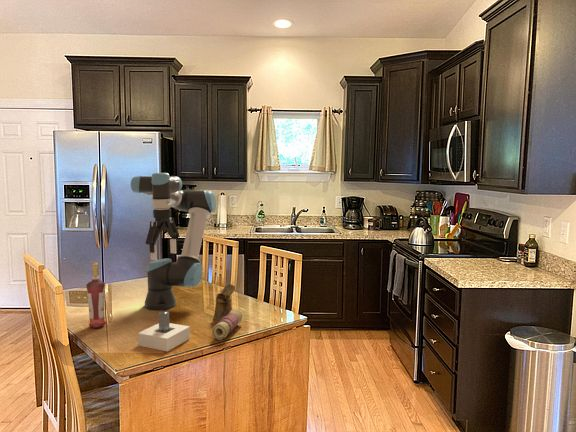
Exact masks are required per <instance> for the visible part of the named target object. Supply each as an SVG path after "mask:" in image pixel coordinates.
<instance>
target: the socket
mask: <svg viewBox="0 0 576 432" xmlns="http://www.w3.org/2000/svg"><path fill="white" fill-rule="evenodd" d="M169 327H170V331H169V332H167V333H161V332H159V322H158V323H157V324H153V325H151V326H150V327H147V328H146V329H144V330H142V331H139V332H138V333H137V341H138V343H137V344H138V345H137V346H139V347H143V348H149V349H154V350H159V351H163V352H169V351H171V350H173V349H174V348H177V347H178V346H180V345H181V344H183V343H185V342H186V341H188V340H190V339H191V327H190V326H189V325H183V324H177V323H171V322H169Z"/></svg>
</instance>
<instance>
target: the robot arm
mask: <svg viewBox="0 0 576 432" xmlns="http://www.w3.org/2000/svg"><path fill="white" fill-rule="evenodd" d="M130 188H131V190H132V192H133V193H135V194H137V193H138V194H141V193H142V194H146V195H148V196H150V197H151V198H152V208H153V209H152V217H153V218H154V219H155V220H154V221H149V229H148V233H147V236H146V240H145V245H148V246H149V253H150V260H151V261H149V262H148V263H147V270H146V272H147V273H146V274H147V276H146V277H147V278H146V279H147V294H146V296H145V301H144V308H145V309H147V310H151V311H152V310H153V311H163V310H167V309H171V308H174V307H175V306H176V305H177V299H176V297H175V294H174V291H173V287H186V288H189V287H190V288H191V287H196V286H197V285H199V284H200V282H201V280H202V277H203V270H204V269H203V268H204V267H203V264H201V260H200V258H199V256H200V253H201V252H200V251H201V248H202V242H203V237H204V232H205V228H206V224H207V219H208V218H210V217H211V213H215V211H216V210H217V209H216V208H217V199H216V196H215V193H214V192H213V191H212V190H206V189H204V190H202V189H201V190H196V189H195V190H193V189H191V190H190V189H185V190H183V189H182V188H183V181H182V179H181V177H179V176H175V175H171V176H170V174H169V173H168V172H154V173H152V174H151V175H149V176H141V175H140V176H139V175H137V176H133V177H132V178H131V181H130ZM171 208H173V209H175V210H179V211H182V212H188V215H190V216H189V221H188V225H187V229H186V234H185V236H184V241H183V246H182V251H181V254H180V255H179V256H177V257H176V261H175V262H172V258H161V259H158V253H157V252H158V251H157V244H156V242H157V241H158V238H159V236H160V234H161V233H162V231H166V232H167V234H168V235H169V237H170V239H169V246H170V247H169V248H170V249H169V250H170V254H175V255H176V254H177V240H178V239H179V238H180V233H179V232H180V231H179V230H178V227H177V226H176V221H175V217H172V209H171Z"/></svg>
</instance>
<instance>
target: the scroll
mask: <svg viewBox="0 0 576 432" xmlns="http://www.w3.org/2000/svg"><path fill="white" fill-rule="evenodd" d="M242 319H243V312H242V311H241V310H240V309H239V308H234V309H233V308H232V310H231V312H230V313H229V314H228V315H227V316H224V317H223V318H222V319H220V321H218V323H217V324H215V325H213V327H212V331H211V333H212V336H213V338H215V339H217V340H219V341H220V340H223V339H226V338H227V336H228V335H229V334H233V333H234V329H235V328H236V327H237V326H238V325H239V324H240V323H241V322H242Z"/></svg>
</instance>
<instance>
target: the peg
mask: <svg viewBox="0 0 576 432" xmlns="http://www.w3.org/2000/svg"><path fill="white" fill-rule="evenodd" d="M158 323H159V332H161V333H167V332H169V331H170V327H169V323H170V311H169V310H160V311H159V312H158Z"/></svg>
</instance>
